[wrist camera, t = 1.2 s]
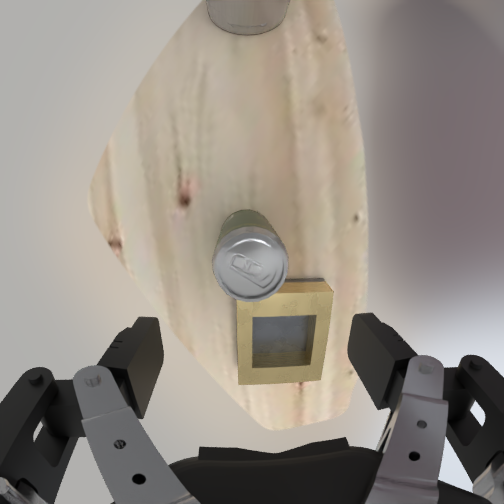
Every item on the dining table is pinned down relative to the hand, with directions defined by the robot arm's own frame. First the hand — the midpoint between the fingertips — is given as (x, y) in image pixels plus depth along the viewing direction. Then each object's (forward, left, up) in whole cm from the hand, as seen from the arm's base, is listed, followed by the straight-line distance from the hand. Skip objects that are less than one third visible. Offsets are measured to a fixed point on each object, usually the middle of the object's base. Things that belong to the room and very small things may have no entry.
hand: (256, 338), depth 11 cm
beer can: (0, 0, -21) cm, 20 cm away
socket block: (+11, +4, -20) cm, 23 cm away
